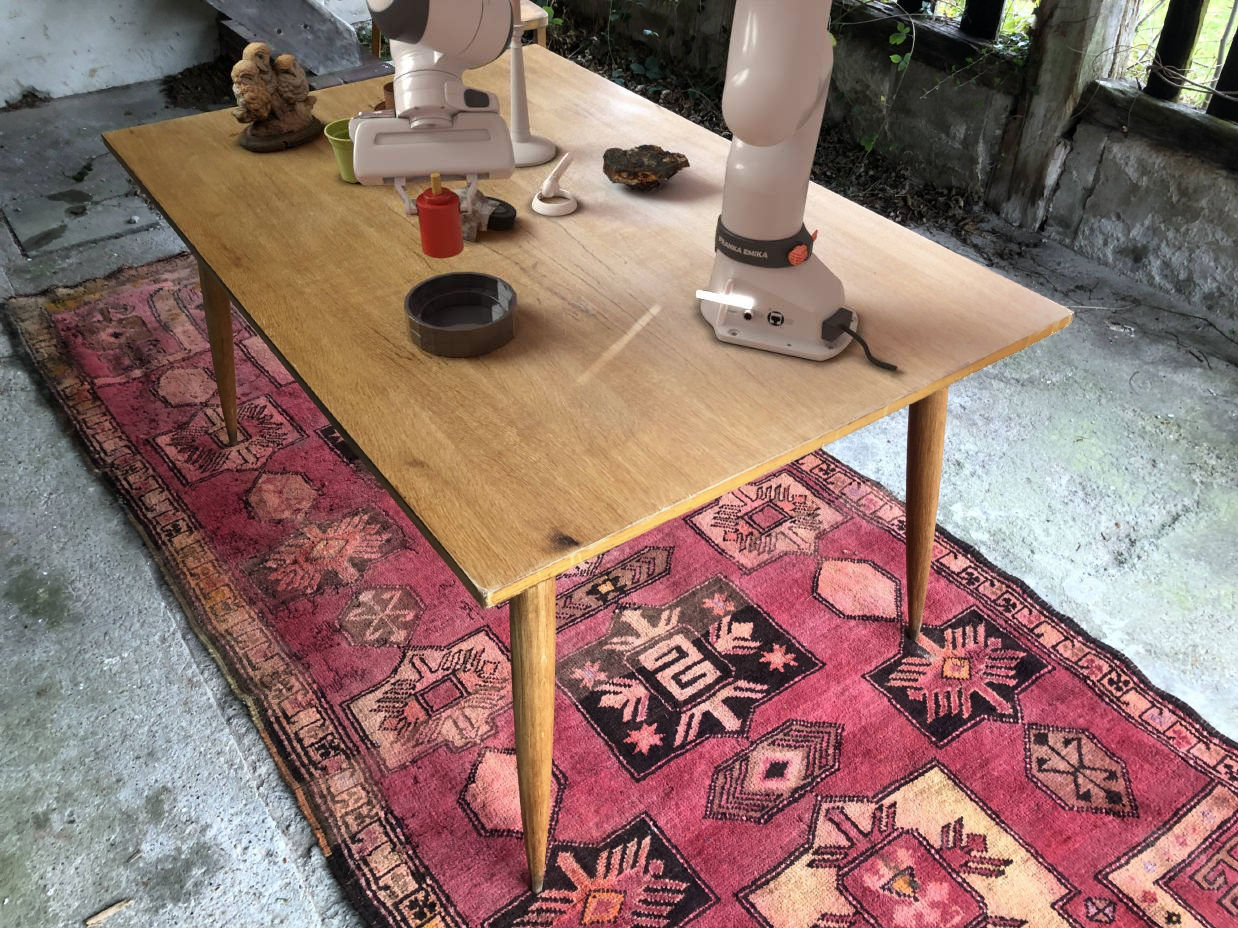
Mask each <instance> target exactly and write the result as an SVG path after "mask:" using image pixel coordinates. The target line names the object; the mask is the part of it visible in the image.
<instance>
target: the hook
mask: <svg viewBox="0 0 1238 928" xmlns="http://www.w3.org/2000/svg"><path fill="white" fill-rule="evenodd" d="M574 160H575V159H574V156H573V154H572V153H571V152H566V153H565V154H564V156H563V157H562V158H561V160H560V161H559V162H558V163H557V165H556V166H555V167H554V169H553V170H552V171H551V172H550V174H549V175H548V177H546V179H545V180H544V181H543V183H542V185H540V188H539V191H538V192H537V193H536V194H535V196H534V197H533V199H532V203H531V208H532V209H533V211H535V212H536V213H538V214H540V215H543V216H548V217H549V216H550V217H558V216H559V217H560V216H565V215H568V214H570V213H573V212H574V211H575V210H577V208H578V204H577V200H576V198H575V196H574V194H573V193H572V192H570V191H569V190H567V189H564V188H563V189H562V187H561V185H560V182H559V180H560V179H561V177H562V176H563V175H564V174H565V173H566V171H567V170H568V169H569V167H570V166H571V165H572V163H573V161H574ZM552 197H560V198H565V199H568V200H567V201H566V202H563V203H557V204H556V203H553V204H551V203H546V202H543V201H541V200H540V199H543V198H549V199H550V198H552Z"/></svg>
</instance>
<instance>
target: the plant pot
mask: <svg viewBox="0 0 1238 928" xmlns="http://www.w3.org/2000/svg"><path fill="white" fill-rule="evenodd" d="M351 119H352V117H349V118H342V119H337V120H334V121H333V122H330V123H329V124H327V125H326V126H325V127H324V129H323V133H324V135H325V136H326V137H327V139H328V141H329V143H330V144H331V146H332V150H333V153H334V157H335V160H336V163H337V166H338V169H339V173H340V176H341V178H342V180H343V181H345V182H347V183H351V184H356V183H360V182H359V181H358V180H357V178H356V176H355V173H354V162H353V154H354V144H353V143H352V142H351V140H350V137H349V122H350V120H351ZM357 119H360V118H357Z"/></svg>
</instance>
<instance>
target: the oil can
mask: <svg viewBox="0 0 1238 928" xmlns="http://www.w3.org/2000/svg"><path fill="white" fill-rule="evenodd" d="M430 185H431V187H428V188H426V189H424V191H423V192H422V193H420V194H419V195H417V197H416V198H415V199H416V202H417V209H418V216H417V218H418V226H419V233H420V241H421V249H422V253H423V254H424V255H426V256H427V257H429V258H433V259H450V258H453V257H456V256H458V255H460V254H462V252H463V251H464V250H465V245H464V239H463V231H462V220H461V212H460V200H459V196H458V194H456V193H455V192H454V191H453V190H451V189H450V188H448V187H445V186H442V182H441V177H440V174H439V173H432V174H431V183H430Z"/></svg>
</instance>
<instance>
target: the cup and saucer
mask: <svg viewBox="0 0 1238 928" xmlns="http://www.w3.org/2000/svg"><path fill="white" fill-rule="evenodd" d="M393 81H394V80H392V81H390V82H387V83H385V84H384V85H383V86H382V90H383V91H382V92H383V96H384V100H383V101H380V102H379V103H377V104H376V105H375V106H374V108H373V111H379V110H393V109H396V108H395V98H394V86H393ZM395 119H396V118H395Z"/></svg>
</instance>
